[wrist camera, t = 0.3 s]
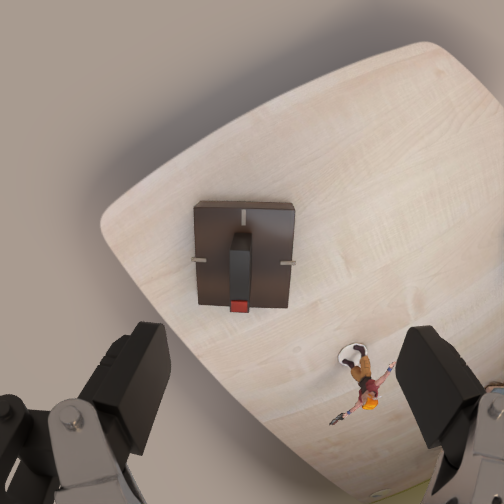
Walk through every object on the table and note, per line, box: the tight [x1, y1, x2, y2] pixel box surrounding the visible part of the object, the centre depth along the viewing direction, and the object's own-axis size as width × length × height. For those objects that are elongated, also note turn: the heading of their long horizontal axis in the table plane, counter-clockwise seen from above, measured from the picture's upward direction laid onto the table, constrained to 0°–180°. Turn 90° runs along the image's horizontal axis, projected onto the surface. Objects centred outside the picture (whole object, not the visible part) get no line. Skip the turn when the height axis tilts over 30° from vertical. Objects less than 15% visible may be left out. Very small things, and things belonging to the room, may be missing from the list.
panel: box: [191, 201, 296, 308], centre depth 28 cm, size 10×10×3 cm
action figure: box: [329, 344, 396, 425], centre depth 31 cm, size 12×3×9 cm, turn 156°
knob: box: [229, 233, 252, 313], centre depth 25 cm, size 6×2×5 cm, turn 179°
